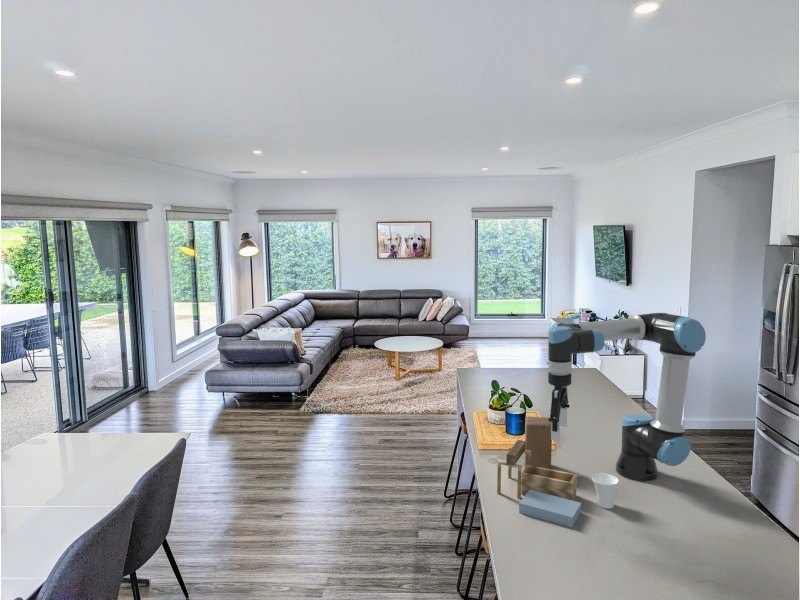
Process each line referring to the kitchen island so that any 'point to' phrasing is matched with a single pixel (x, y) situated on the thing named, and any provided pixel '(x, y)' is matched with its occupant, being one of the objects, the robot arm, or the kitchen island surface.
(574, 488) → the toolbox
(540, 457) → the wooden block
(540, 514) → the lid
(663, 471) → the kitchen island surface
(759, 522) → the kitchen island surface
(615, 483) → the cup
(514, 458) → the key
